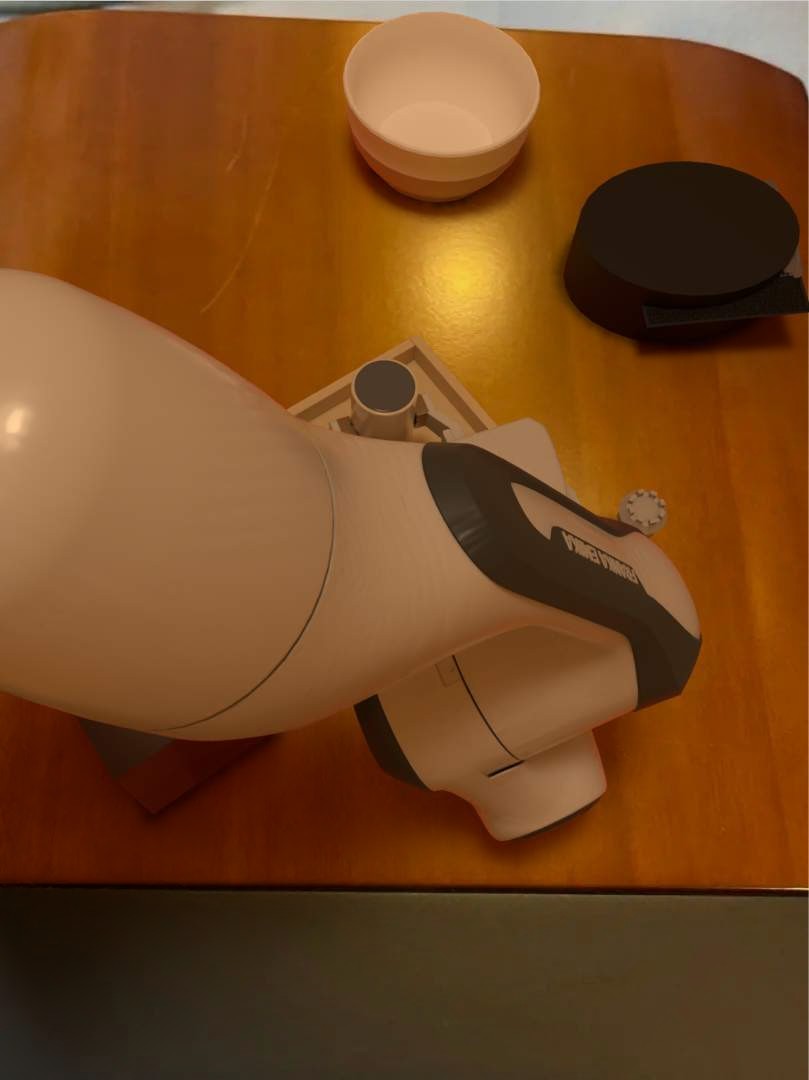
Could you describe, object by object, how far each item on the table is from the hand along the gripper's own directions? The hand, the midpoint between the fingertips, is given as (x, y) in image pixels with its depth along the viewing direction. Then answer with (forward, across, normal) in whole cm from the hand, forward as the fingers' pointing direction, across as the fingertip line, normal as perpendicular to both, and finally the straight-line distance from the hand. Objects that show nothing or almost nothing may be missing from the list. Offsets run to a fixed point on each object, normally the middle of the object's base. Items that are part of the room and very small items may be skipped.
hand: (377, 410), depth 69 cm
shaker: (-1, 0, +6) cm, 6 cm away
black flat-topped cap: (+7, -29, +6) cm, 30 cm away
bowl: (+26, -15, +6) cm, 31 cm away
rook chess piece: (-14, -14, +6) cm, 20 cm away
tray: (-1, 0, +6) cm, 6 cm away
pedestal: (-14, +19, +6) cm, 25 cm away
